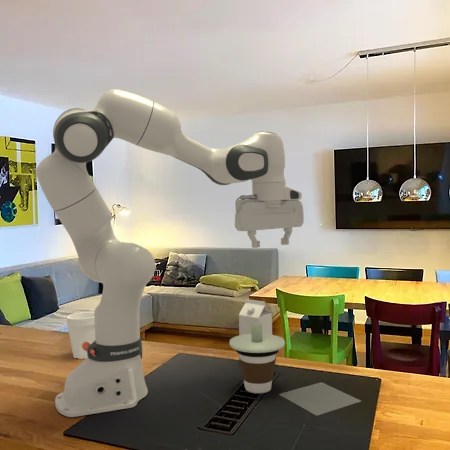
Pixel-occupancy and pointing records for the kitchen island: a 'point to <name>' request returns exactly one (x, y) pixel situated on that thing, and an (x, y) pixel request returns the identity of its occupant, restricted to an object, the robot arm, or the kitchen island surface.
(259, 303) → the milk carton
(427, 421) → the kitchen island surface
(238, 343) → the lid
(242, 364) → the coffee cup
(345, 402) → the mat
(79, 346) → the foam cup
